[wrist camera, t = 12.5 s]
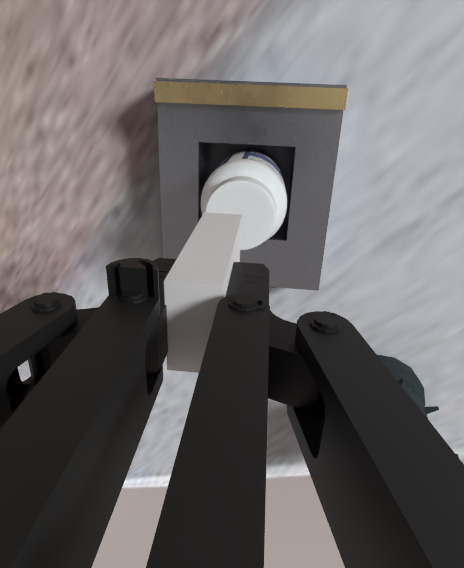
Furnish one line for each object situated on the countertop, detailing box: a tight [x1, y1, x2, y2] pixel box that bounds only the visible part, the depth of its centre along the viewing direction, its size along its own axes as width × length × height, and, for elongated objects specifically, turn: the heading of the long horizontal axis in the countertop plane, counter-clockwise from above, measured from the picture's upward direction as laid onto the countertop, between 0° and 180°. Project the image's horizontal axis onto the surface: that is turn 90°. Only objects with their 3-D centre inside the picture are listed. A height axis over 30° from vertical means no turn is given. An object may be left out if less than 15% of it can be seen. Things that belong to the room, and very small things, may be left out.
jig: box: [154, 78, 348, 290], centre depth 30 cm, size 14×12×4 cm
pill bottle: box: [201, 150, 287, 250], centre depth 27 cm, size 5×5×10 cm
